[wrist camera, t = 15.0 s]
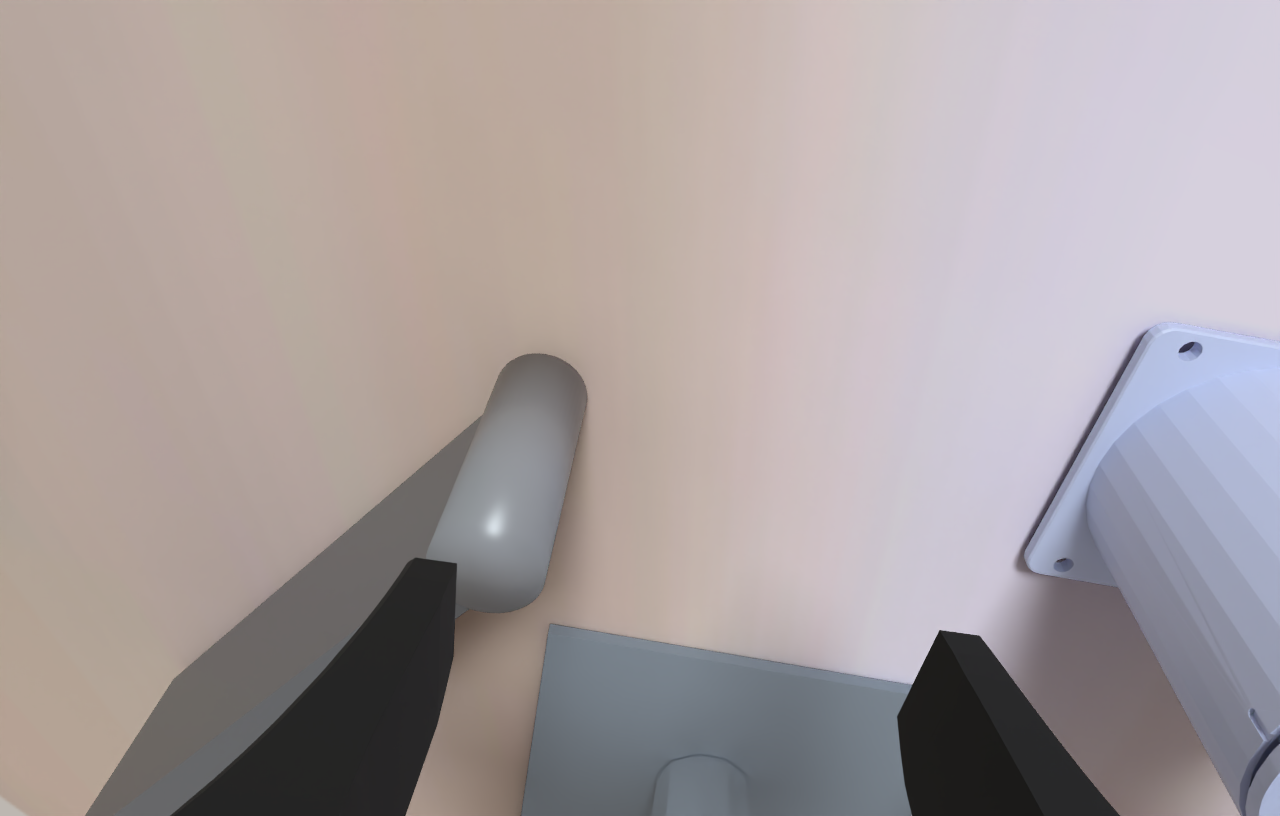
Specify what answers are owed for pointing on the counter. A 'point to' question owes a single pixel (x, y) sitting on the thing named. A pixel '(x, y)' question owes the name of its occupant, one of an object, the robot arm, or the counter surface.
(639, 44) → the counter surface
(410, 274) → the counter surface
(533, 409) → the grey rectangular panel
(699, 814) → the milkshake
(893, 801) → the mat
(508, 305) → the counter surface
